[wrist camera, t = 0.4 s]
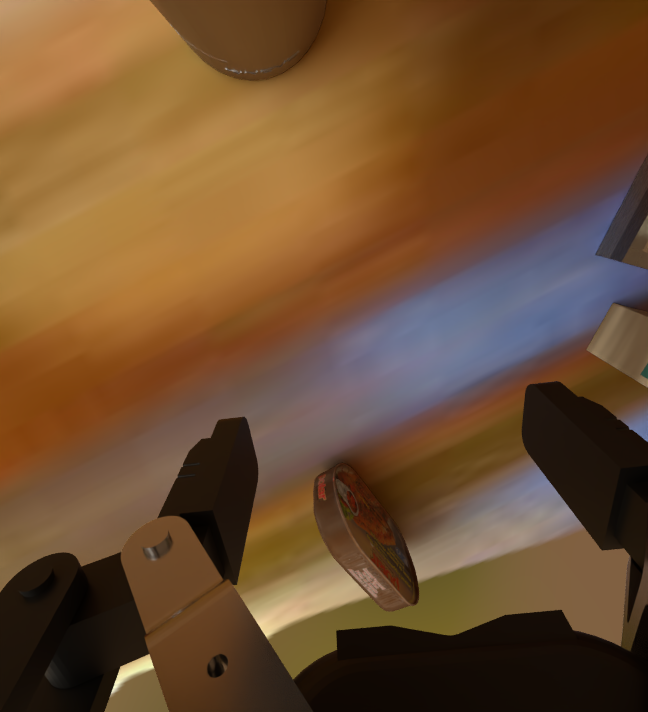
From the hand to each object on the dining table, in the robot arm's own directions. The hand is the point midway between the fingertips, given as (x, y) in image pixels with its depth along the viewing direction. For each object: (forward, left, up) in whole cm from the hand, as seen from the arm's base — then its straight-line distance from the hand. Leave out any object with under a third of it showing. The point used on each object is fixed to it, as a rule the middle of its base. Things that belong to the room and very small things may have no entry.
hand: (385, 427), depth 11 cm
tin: (+23, -2, -20) cm, 30 cm away
